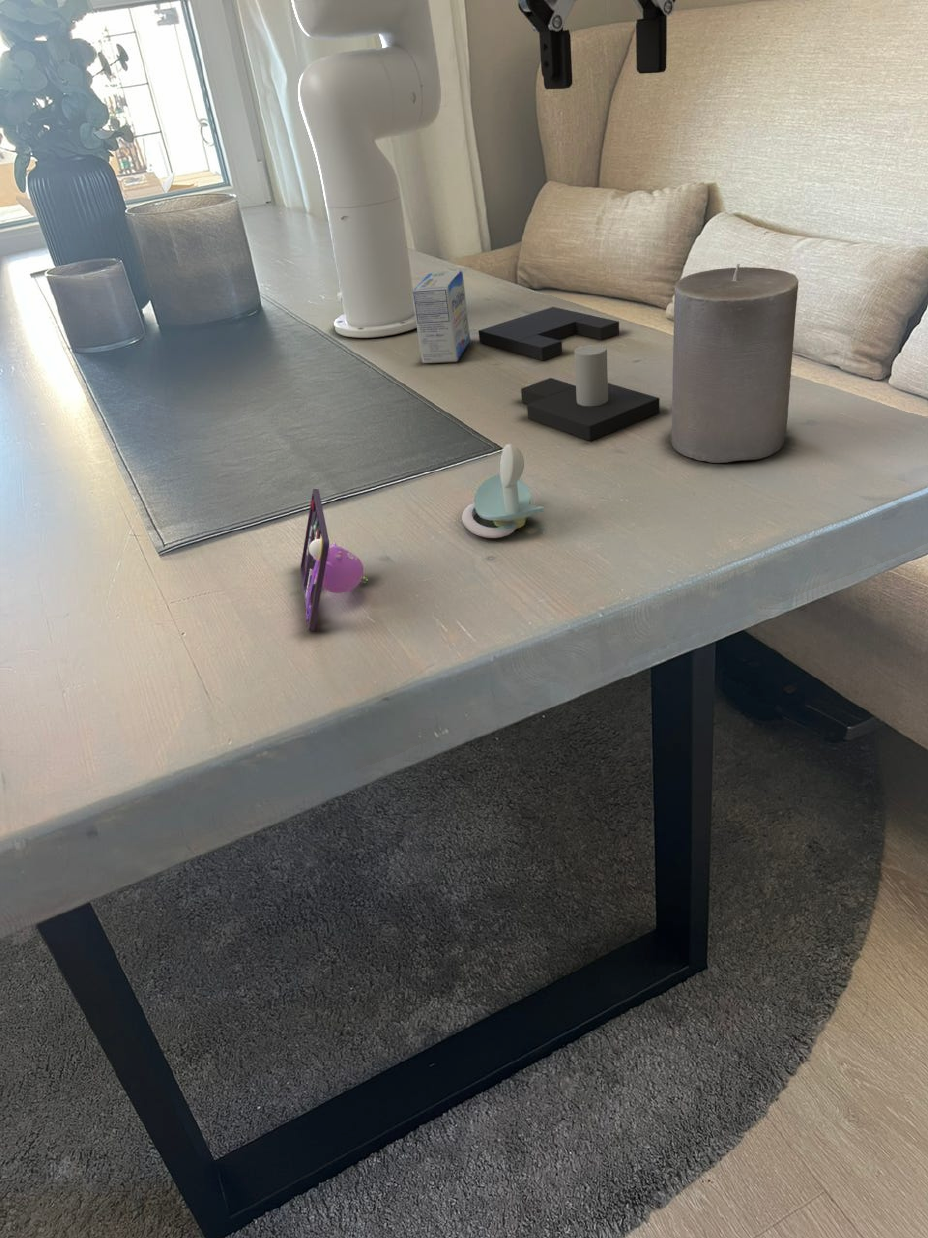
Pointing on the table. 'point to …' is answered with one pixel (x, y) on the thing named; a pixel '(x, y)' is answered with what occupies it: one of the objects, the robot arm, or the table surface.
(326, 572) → the purple panel with bulb
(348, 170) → the robot arm
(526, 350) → the big pad
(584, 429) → the small pad
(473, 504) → the pacifier
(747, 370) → the pillar candle
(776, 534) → the table surface
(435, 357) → the medicine box
